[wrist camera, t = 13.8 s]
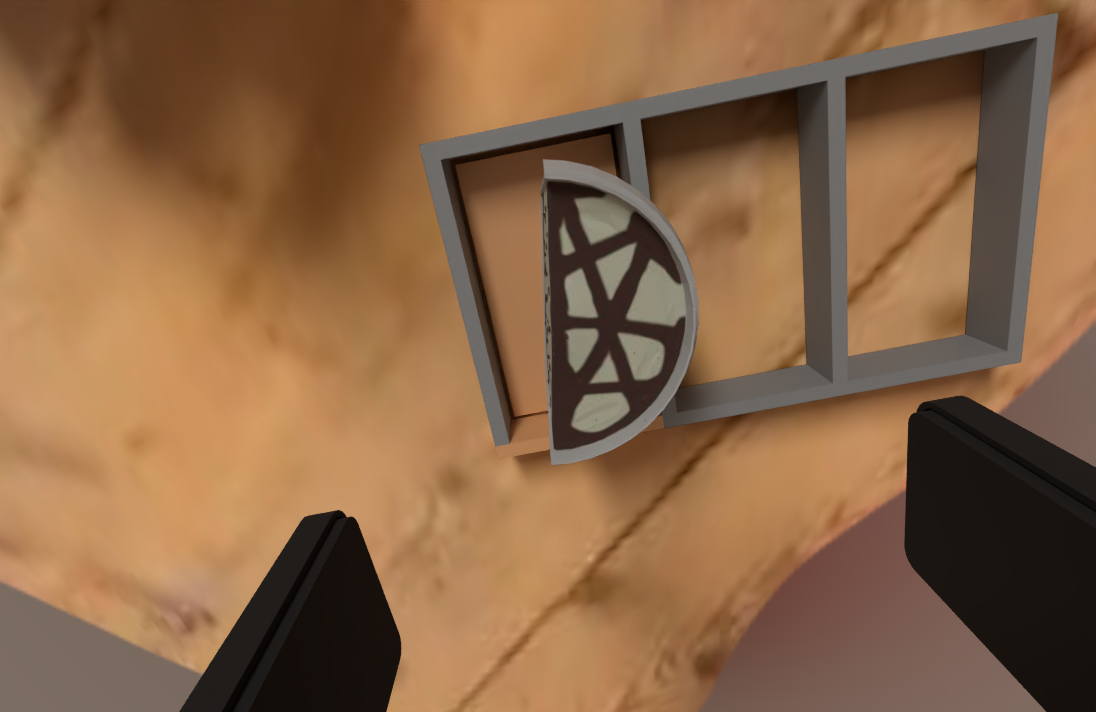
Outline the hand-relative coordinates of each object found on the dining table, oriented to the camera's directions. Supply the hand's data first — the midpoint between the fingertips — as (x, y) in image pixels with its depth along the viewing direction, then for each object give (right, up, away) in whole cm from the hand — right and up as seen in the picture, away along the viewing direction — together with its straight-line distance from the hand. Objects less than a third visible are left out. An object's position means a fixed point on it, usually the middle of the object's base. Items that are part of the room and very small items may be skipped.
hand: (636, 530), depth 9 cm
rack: (+8, +9, +21) cm, 24 cm away
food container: (+1, +7, +21) cm, 22 cm away
